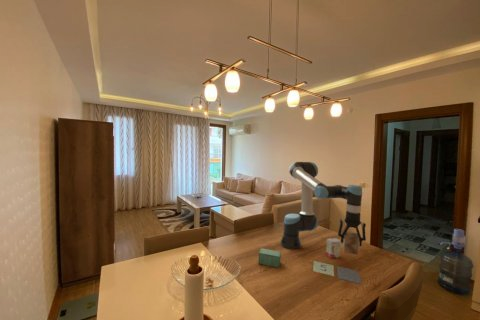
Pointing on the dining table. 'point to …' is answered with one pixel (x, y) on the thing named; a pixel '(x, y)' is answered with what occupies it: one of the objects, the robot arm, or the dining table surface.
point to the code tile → (323, 268)
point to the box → (269, 257)
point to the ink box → (333, 247)
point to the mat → (348, 275)
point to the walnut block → (351, 243)
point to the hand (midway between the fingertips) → (350, 249)
